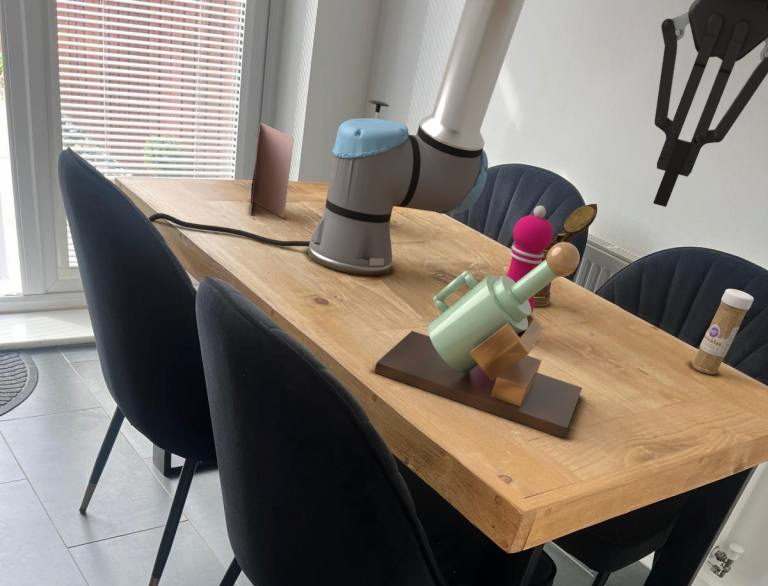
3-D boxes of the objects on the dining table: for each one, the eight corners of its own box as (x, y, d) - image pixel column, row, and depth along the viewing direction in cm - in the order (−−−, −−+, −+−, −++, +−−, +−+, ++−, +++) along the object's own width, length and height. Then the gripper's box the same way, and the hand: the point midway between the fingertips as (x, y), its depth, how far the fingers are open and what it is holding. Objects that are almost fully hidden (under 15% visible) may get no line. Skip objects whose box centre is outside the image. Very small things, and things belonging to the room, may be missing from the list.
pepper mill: (527, 332, 126) (568, 208, 115) (520, 346, 120) (562, 216, 109) (486, 319, 127) (522, 195, 116) (477, 332, 121) (514, 202, 110)
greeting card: (248, 199, 159) (255, 121, 150) (283, 206, 160) (293, 129, 152) (246, 214, 149) (254, 131, 141) (283, 221, 151) (294, 139, 143)
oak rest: (460, 386, 99) (480, 316, 93) (480, 359, 108) (499, 294, 102) (519, 407, 97) (543, 337, 92) (535, 378, 106) (557, 313, 101)
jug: (409, 364, 101) (446, 213, 90) (428, 345, 108) (464, 203, 97) (526, 405, 98) (579, 255, 87) (538, 383, 105) (588, 241, 94)
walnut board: (374, 372, 100) (376, 362, 99) (409, 339, 112) (411, 330, 112) (563, 438, 96) (567, 428, 95) (578, 396, 108) (582, 387, 107)
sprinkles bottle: (686, 365, 129) (721, 288, 121) (697, 362, 132) (733, 286, 124) (710, 377, 126) (748, 299, 119) (721, 373, 129) (759, 297, 122)
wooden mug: (576, 309, 142) (612, 211, 132) (516, 305, 137) (548, 202, 127) (551, 291, 149) (583, 196, 139) (493, 287, 143) (522, 187, 133)
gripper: (690, -72, 71) (600, 192, 84) (834, -42, 68) (718, 225, 81) (691, -61, 77) (607, 184, 90) (823, -32, 74) (717, 214, 87)
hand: (660, 203), depth 86 cm, fingers closed
